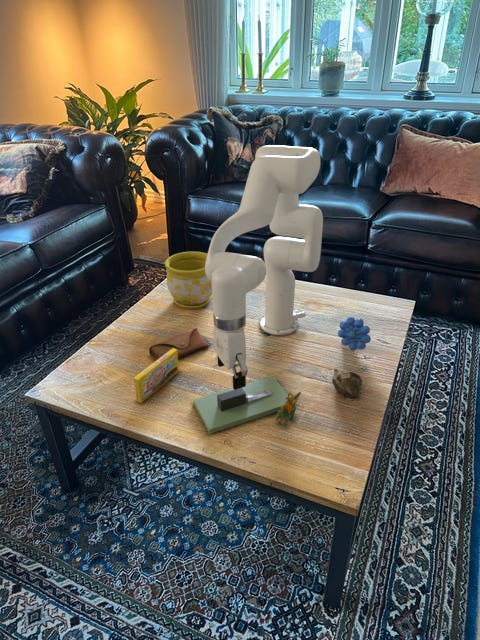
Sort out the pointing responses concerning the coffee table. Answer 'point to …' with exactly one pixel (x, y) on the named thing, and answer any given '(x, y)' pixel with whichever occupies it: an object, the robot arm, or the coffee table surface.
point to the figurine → (287, 409)
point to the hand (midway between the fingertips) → (231, 375)
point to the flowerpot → (188, 279)
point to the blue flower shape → (354, 333)
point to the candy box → (156, 375)
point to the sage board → (243, 413)
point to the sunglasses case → (179, 345)
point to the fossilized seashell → (347, 383)
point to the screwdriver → (239, 398)
